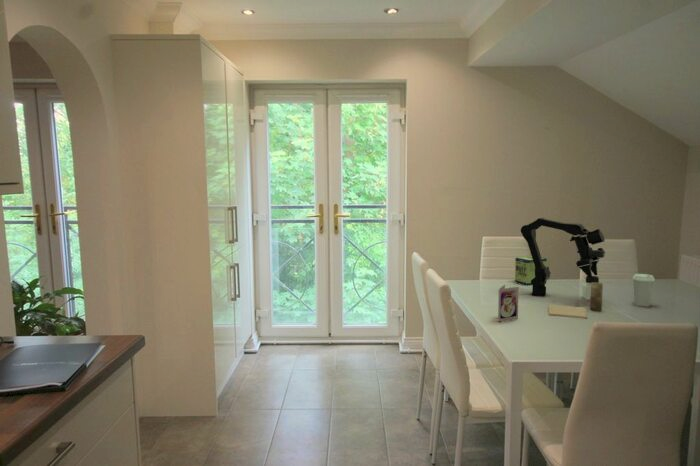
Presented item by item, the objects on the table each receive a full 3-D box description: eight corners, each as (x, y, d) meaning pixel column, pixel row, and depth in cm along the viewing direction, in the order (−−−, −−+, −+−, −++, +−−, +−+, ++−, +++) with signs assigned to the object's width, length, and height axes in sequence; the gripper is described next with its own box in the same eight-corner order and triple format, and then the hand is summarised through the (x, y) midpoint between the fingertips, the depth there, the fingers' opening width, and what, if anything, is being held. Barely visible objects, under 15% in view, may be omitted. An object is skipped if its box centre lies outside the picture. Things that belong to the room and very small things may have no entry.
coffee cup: (646, 308, 224) (647, 278, 223) (626, 304, 233) (628, 274, 231) (657, 305, 229) (659, 275, 227) (638, 301, 237) (639, 272, 235)
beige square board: (548, 315, 216) (548, 313, 216) (548, 306, 231) (548, 304, 231) (587, 318, 210) (587, 316, 210) (584, 309, 225) (584, 307, 224)
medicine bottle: (601, 300, 240) (602, 277, 239) (586, 300, 242) (587, 277, 241) (596, 297, 247) (597, 275, 246) (582, 296, 249) (583, 274, 247)
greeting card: (499, 322, 206) (500, 289, 204) (488, 318, 213) (488, 286, 211) (519, 319, 210) (520, 287, 209) (507, 315, 217) (508, 283, 216)
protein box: (514, 282, 286) (514, 257, 284) (533, 280, 292) (534, 255, 290) (527, 285, 276) (527, 260, 275) (546, 283, 282) (547, 258, 281)
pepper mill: (590, 310, 222) (591, 284, 221) (589, 308, 227) (590, 281, 225) (602, 311, 220) (603, 284, 219) (601, 308, 225) (602, 282, 223)
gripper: (594, 245, 225) (605, 276, 223) (604, 240, 238) (615, 270, 236) (571, 251, 232) (582, 281, 230) (582, 246, 246) (592, 275, 244)
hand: (593, 276), depth 235 cm, fingers open, 9 cm apart
